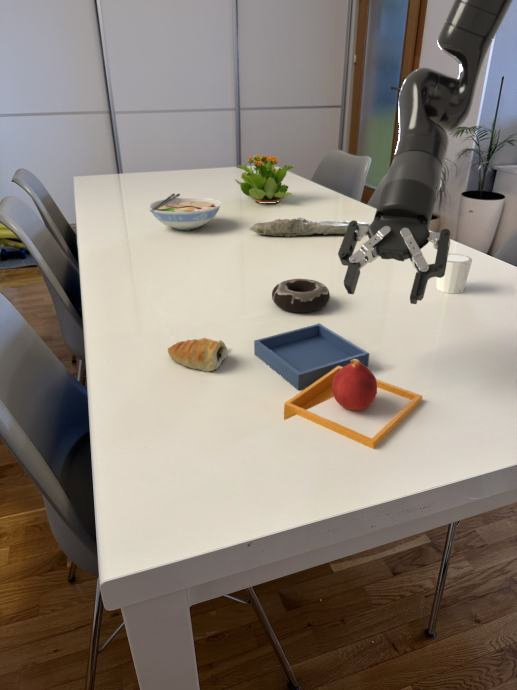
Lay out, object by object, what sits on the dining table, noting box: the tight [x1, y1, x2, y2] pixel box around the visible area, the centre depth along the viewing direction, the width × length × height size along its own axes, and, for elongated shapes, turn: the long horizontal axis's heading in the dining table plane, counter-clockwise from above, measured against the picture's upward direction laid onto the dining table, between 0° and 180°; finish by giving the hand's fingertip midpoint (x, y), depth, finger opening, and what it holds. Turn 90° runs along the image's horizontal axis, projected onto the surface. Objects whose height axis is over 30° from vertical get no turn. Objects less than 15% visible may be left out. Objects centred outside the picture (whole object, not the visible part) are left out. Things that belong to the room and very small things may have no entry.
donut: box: [271, 278, 331, 314], centre depth 104 cm, size 12×12×4 cm
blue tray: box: [253, 323, 370, 391], centre depth 82 cm, size 13×13×3 cm
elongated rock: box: [252, 217, 370, 238], centre depth 154 cm, size 35×5×10 cm
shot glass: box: [436, 252, 473, 294], centre depth 110 cm, size 7×7×7 cm
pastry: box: [167, 337, 228, 372], centre depth 83 cm, size 9×7×4 cm
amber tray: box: [283, 366, 423, 449], centre depth 69 cm, size 13×13×3 cm
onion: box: [332, 359, 378, 412], centre depth 67 cm, size 6×6×8 cm
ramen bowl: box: [147, 193, 222, 231], centre depth 161 cm, size 25×23×8 cm
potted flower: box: [234, 153, 296, 202], centre depth 193 cm, size 25×24×18 cm
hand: (380, 296), depth 68 cm, fingers open, 8 cm apart
